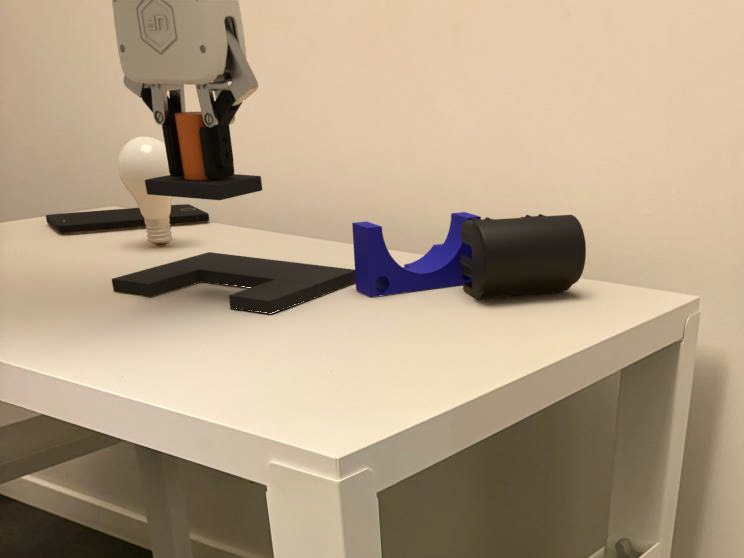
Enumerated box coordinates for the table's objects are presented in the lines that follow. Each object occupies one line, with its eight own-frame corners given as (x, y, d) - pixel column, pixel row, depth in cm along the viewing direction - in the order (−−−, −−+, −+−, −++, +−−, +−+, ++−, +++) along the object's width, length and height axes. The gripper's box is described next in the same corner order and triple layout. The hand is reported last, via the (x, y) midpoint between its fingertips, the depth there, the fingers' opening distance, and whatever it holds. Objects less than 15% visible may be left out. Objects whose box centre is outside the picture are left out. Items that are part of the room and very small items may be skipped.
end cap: (484, 307, 88) (485, 226, 84) (456, 289, 93) (456, 213, 90) (584, 298, 91) (589, 219, 87) (551, 281, 97) (555, 207, 93)
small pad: (146, 194, 86) (132, 114, 83) (192, 185, 90) (180, 109, 87) (219, 200, 83) (208, 117, 80) (262, 190, 87) (253, 111, 84)
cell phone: (211, 221, 123) (210, 213, 122) (60, 234, 115) (58, 225, 114) (190, 211, 129) (188, 203, 128) (45, 222, 121) (44, 214, 121)
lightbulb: (121, 245, 110) (102, 135, 105) (173, 238, 114) (157, 132, 108) (148, 253, 106) (129, 140, 101) (200, 246, 110) (185, 136, 104)
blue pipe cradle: (456, 273, 99) (456, 209, 96) (480, 282, 96) (480, 216, 93) (349, 287, 94) (345, 220, 91) (370, 297, 91) (366, 228, 88)
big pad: (113, 292, 92) (111, 278, 91) (210, 264, 102) (208, 251, 102) (271, 314, 85) (270, 300, 85) (357, 282, 96) (356, 269, 95)
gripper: (49, -83, 76) (100, 176, 86) (219, -93, 70) (252, 187, 80) (118, -77, 82) (159, 166, 92) (281, -86, 76) (305, 175, 86)
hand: (202, 173), depth 86 cm, fingers closed on small pad, 3 cm apart
